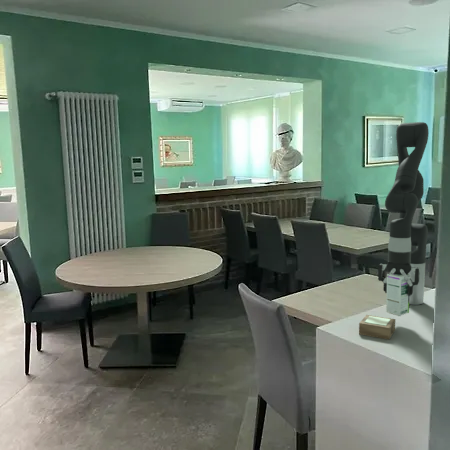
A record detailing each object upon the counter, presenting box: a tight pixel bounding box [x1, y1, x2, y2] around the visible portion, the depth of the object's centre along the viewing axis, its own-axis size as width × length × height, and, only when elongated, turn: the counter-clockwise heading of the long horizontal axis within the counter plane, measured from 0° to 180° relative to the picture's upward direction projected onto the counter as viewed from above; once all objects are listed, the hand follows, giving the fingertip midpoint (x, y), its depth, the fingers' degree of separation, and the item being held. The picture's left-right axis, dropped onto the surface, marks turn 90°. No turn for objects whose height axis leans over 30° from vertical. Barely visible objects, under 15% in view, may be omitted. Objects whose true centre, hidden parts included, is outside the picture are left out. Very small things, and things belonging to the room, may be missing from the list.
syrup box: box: [385, 273, 410, 317], centre depth 167 cm, size 6×6×14 cm
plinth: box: [358, 314, 396, 340], centre depth 161 cm, size 10×10×4 cm
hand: (397, 294), depth 167 cm, fingers closed on syrup box, 7 cm apart
